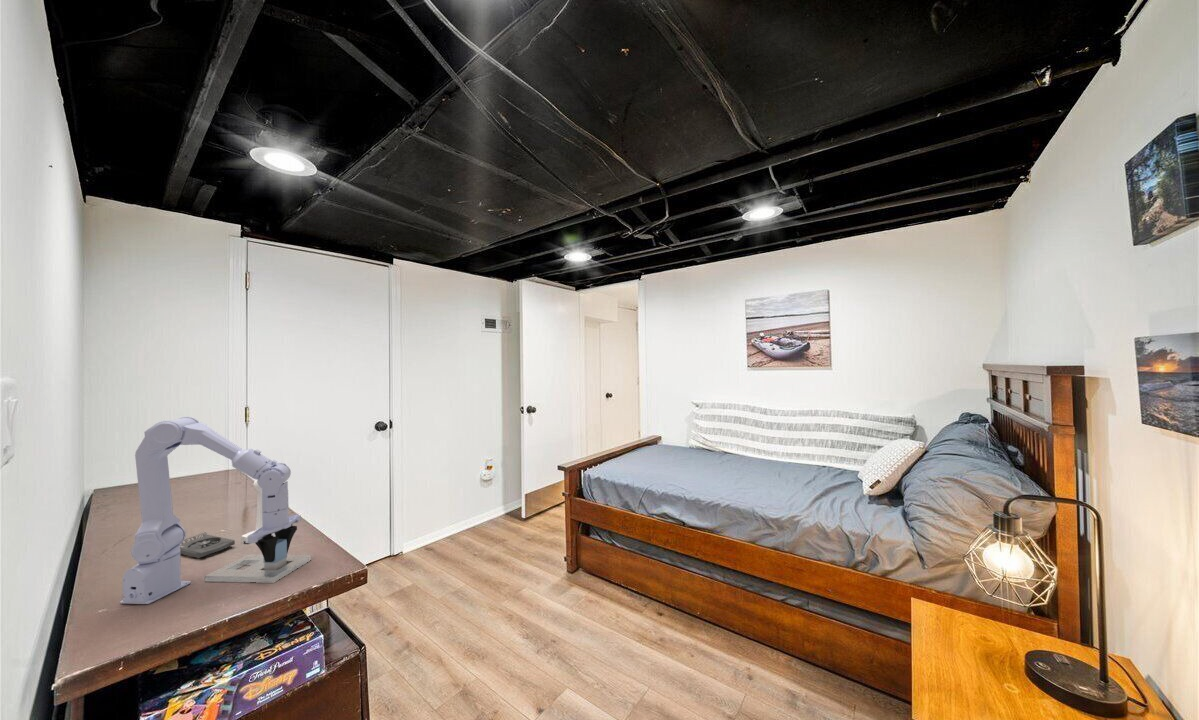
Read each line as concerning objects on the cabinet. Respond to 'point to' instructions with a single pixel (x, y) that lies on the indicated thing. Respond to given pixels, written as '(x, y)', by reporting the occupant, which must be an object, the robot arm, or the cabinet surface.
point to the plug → (278, 556)
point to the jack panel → (255, 570)
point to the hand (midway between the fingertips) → (276, 557)
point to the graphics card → (204, 545)
